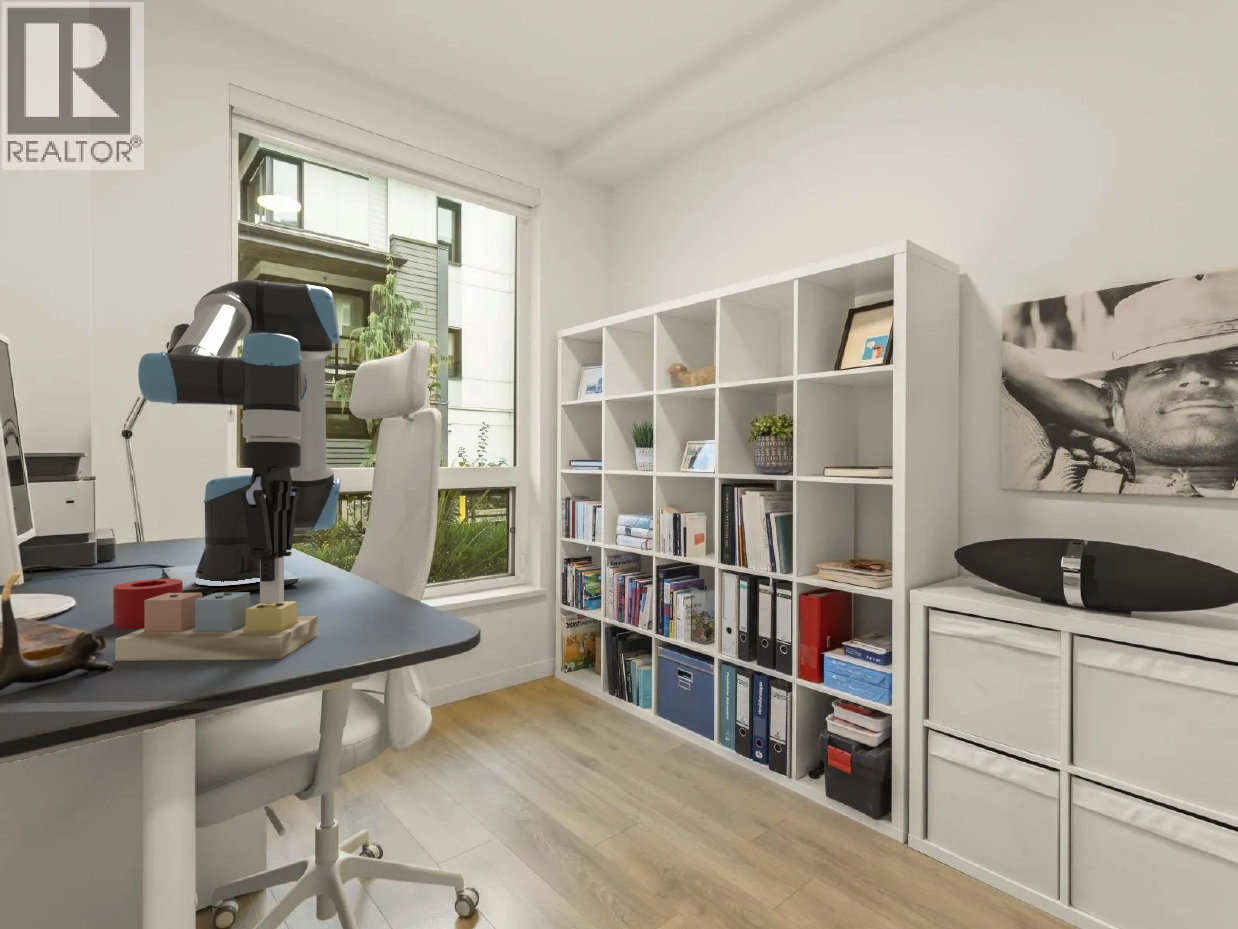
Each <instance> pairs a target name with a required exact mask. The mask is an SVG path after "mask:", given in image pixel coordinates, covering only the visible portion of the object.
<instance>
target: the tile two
mask: <svg viewBox="0 0 1238 929" xmlns="http://www.w3.org/2000/svg"><path fill="white" fill-rule="evenodd" d="M250 607H251V592H250V591H249V592H230V591H229V592H215V593H211V594H208V595H206V596H202V598H199V599H196V600H195V632H233V631H235V630H237V629H239V628H241V627H243V626H245V625H246V609H247V608H250Z"/></svg>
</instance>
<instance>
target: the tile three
mask: <svg viewBox="0 0 1238 929" xmlns="http://www.w3.org/2000/svg"><path fill="white" fill-rule="evenodd" d="M297 617H298V601H297V600H296V601H294V600H290V601H287V600H284V602H281V603H279V604H260V602H259V603H257V604H255V605H252V606H250V608H247V609H246V632H265V631H284V630H286V629H288V628H290V627H291V626H293V625H295V624H297Z"/></svg>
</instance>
